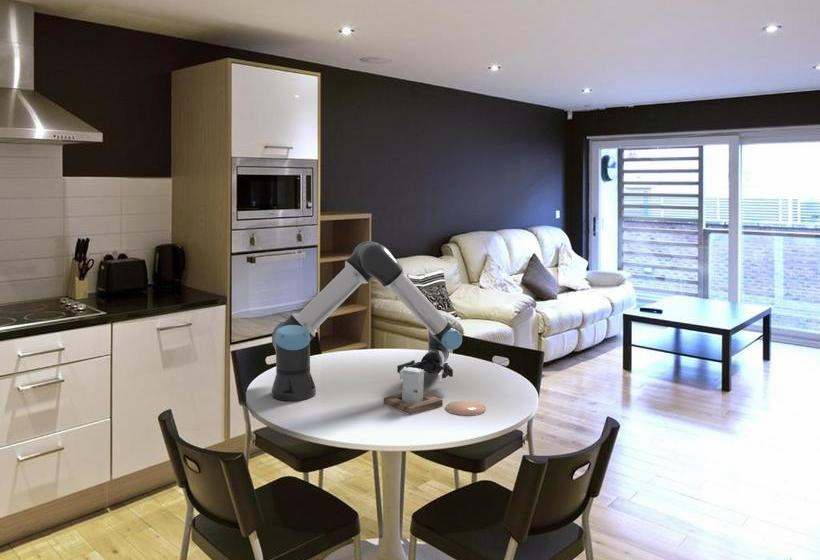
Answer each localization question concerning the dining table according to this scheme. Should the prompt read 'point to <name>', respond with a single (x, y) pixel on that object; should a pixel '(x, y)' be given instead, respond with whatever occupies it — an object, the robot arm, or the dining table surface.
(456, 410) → the coaster
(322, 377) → the dining table surface
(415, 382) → the skincare box
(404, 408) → the socket block
